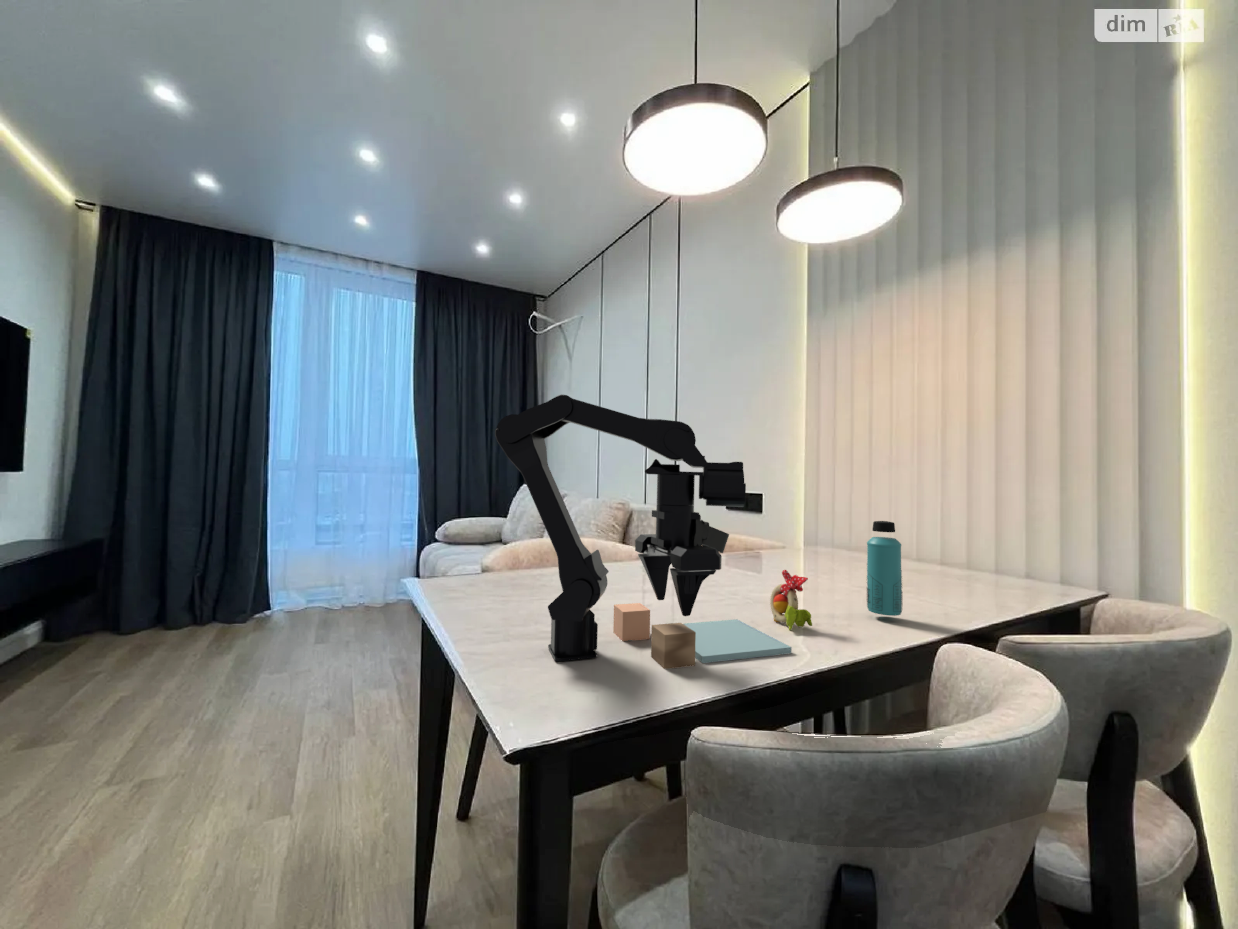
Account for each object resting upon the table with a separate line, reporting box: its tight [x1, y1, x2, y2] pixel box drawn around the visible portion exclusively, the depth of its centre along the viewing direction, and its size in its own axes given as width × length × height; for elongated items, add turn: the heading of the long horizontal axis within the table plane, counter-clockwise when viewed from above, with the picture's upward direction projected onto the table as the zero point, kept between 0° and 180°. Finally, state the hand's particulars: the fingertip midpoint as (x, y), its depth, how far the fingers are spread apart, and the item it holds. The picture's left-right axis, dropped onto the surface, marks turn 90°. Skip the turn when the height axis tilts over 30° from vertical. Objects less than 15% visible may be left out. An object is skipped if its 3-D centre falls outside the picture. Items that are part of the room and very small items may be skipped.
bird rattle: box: [769, 569, 813, 631], centre depth 94 cm, size 6×11×9 cm
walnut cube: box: [650, 622, 696, 670], centre depth 74 cm, size 5×5×5 cm
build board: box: [683, 618, 792, 664], centre depth 83 cm, size 16×16×1 cm
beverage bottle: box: [865, 520, 904, 617], centre depth 100 cm, size 6×7×20 cm
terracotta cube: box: [612, 602, 651, 642], centre depth 85 cm, size 5×5×5 cm
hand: (672, 607), depth 74 cm, fingers open, 9 cm apart
